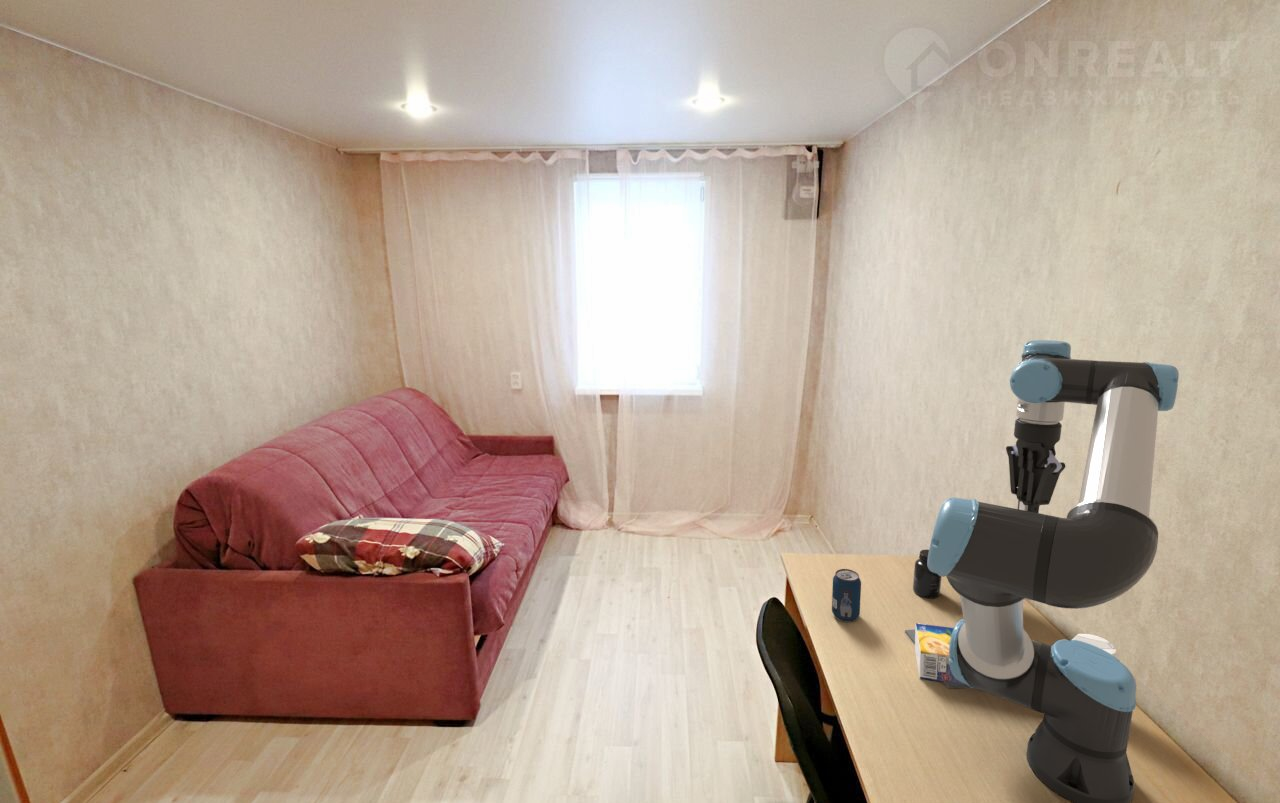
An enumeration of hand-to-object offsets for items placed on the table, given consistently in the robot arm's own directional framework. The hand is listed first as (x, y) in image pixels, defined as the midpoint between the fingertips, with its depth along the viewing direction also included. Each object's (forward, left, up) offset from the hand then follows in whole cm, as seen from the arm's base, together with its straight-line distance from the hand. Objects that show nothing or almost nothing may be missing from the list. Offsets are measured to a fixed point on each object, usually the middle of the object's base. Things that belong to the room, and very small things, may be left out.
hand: (1025, 532), depth 117 cm
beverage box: (+8, +16, -32) cm, 37 cm away
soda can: (+27, +26, -36) cm, 52 cm away
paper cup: (-7, -11, -36) cm, 38 cm away
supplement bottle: (+36, 0, -36) cm, 51 cm away
